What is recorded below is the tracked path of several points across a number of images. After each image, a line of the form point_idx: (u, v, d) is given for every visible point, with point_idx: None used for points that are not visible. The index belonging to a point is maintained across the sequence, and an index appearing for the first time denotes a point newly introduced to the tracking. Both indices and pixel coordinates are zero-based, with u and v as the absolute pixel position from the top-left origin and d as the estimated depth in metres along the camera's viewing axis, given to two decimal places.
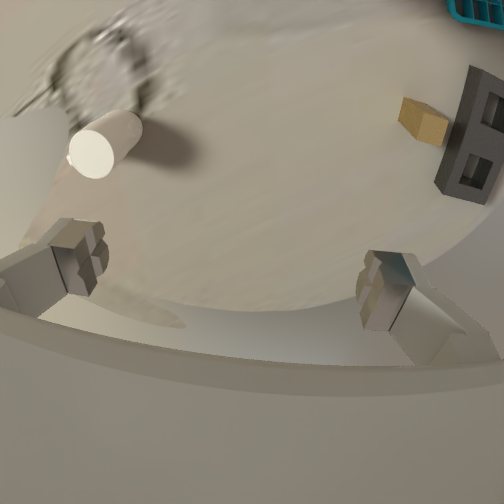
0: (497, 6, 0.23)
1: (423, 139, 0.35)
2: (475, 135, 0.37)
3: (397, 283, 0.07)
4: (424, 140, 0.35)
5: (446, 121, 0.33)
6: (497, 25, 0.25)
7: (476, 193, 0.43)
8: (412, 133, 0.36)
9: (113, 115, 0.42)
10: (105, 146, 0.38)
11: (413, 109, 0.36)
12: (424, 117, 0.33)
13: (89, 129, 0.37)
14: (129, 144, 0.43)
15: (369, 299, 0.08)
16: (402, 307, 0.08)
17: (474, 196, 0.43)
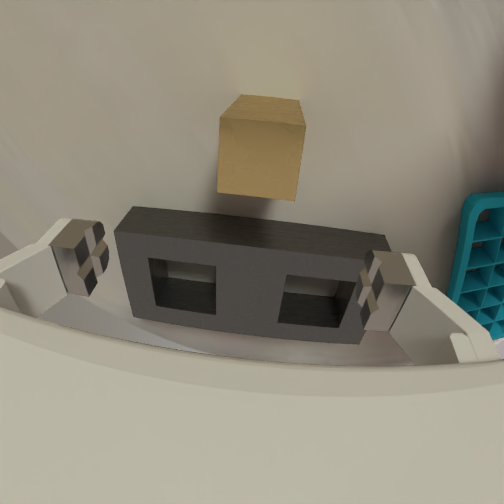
0: (482, 280, 0.26)
1: (225, 137, 0.14)
2: (257, 270, 0.24)
3: (397, 283, 0.07)
4: (223, 141, 0.14)
5: (291, 194, 0.16)
6: (461, 282, 0.25)
7: (145, 297, 0.27)
8: (231, 110, 0.15)
9: None
10: None
11: (288, 110, 0.17)
12: (291, 129, 0.14)
13: None
14: None
15: (369, 299, 0.08)
16: (402, 306, 0.08)
17: (138, 295, 0.27)
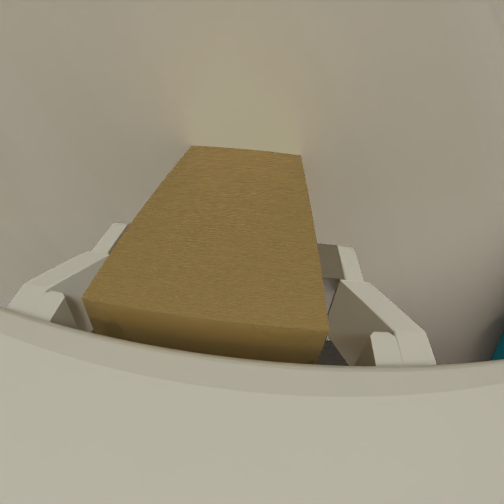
0: None
1: None
2: None
3: (322, 276, 0.07)
4: None
5: None
6: None
7: None
8: (130, 241, 0.06)
9: None
10: None
11: (281, 210, 0.07)
12: (282, 338, 0.05)
13: None
14: None
15: None
16: (333, 301, 0.08)
17: None
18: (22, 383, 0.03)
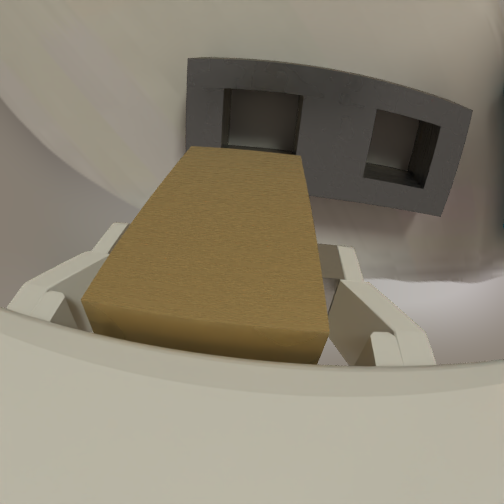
0: None
1: None
2: (347, 102, 0.20)
3: (322, 276, 0.07)
4: None
5: None
6: None
7: None
8: (130, 242, 0.06)
9: None
10: None
11: (280, 211, 0.07)
12: (283, 340, 0.05)
13: None
14: None
15: None
16: (333, 301, 0.08)
17: (200, 146, 0.23)
18: (22, 383, 0.03)
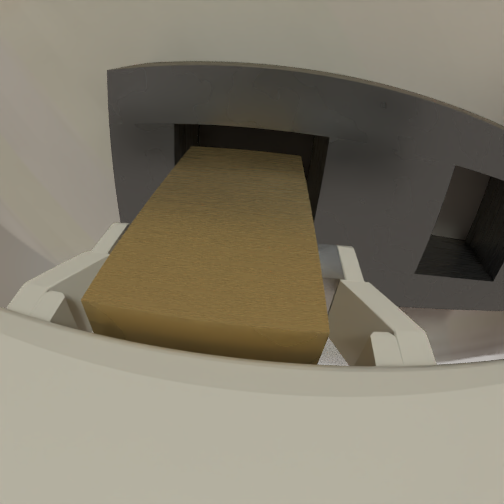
0: None
1: None
2: (407, 151, 0.11)
3: (322, 276, 0.07)
4: None
5: None
6: None
7: None
8: (130, 242, 0.06)
9: None
10: None
11: (281, 211, 0.07)
12: (283, 340, 0.05)
13: None
14: None
15: None
16: (333, 301, 0.08)
17: None
18: (22, 383, 0.03)
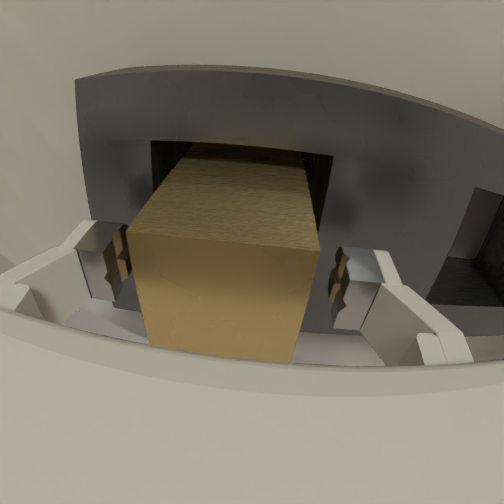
0: None
1: (145, 270, 0.07)
2: (423, 172, 0.09)
3: (364, 280, 0.07)
4: (142, 276, 0.07)
5: (283, 358, 0.08)
6: None
7: None
8: (162, 195, 0.08)
9: None
10: None
11: (281, 177, 0.09)
12: (285, 258, 0.06)
13: None
14: None
15: (338, 297, 0.08)
16: (372, 304, 0.08)
17: None
18: (22, 383, 0.03)
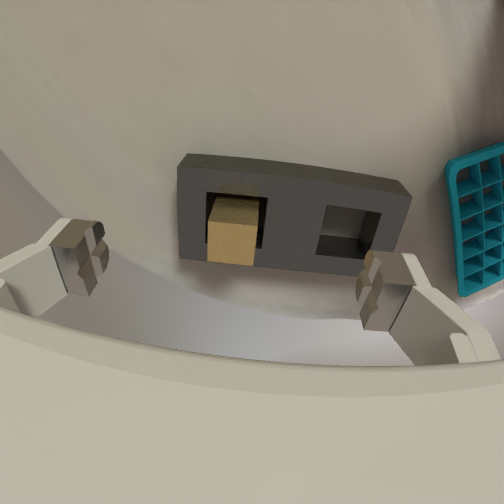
0: (478, 226, 0.31)
1: (211, 232, 0.26)
2: (302, 201, 0.28)
3: (397, 283, 0.07)
4: (210, 234, 0.26)
5: (250, 262, 0.28)
6: (460, 232, 0.30)
7: (196, 234, 0.31)
8: (214, 211, 0.27)
9: None
10: None
11: (250, 205, 0.28)
12: (249, 228, 0.26)
13: None
14: None
15: (369, 299, 0.08)
16: (402, 306, 0.08)
17: (189, 233, 0.31)
18: (22, 383, 0.03)
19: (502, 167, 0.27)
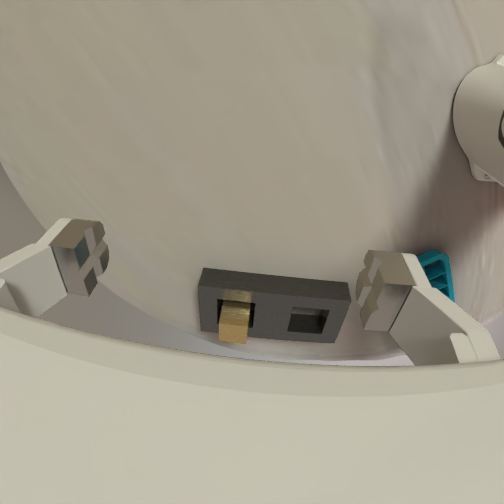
0: None
1: (221, 328, 0.44)
2: (277, 304, 0.46)
3: (397, 283, 0.07)
4: (220, 329, 0.44)
5: (244, 342, 0.45)
6: None
7: (211, 319, 0.48)
8: (222, 314, 0.44)
9: None
10: None
11: (244, 307, 0.46)
12: (242, 327, 0.43)
13: None
14: None
15: (369, 299, 0.08)
16: (403, 306, 0.08)
17: (207, 318, 0.48)
18: (22, 383, 0.03)
19: (433, 266, 0.44)
